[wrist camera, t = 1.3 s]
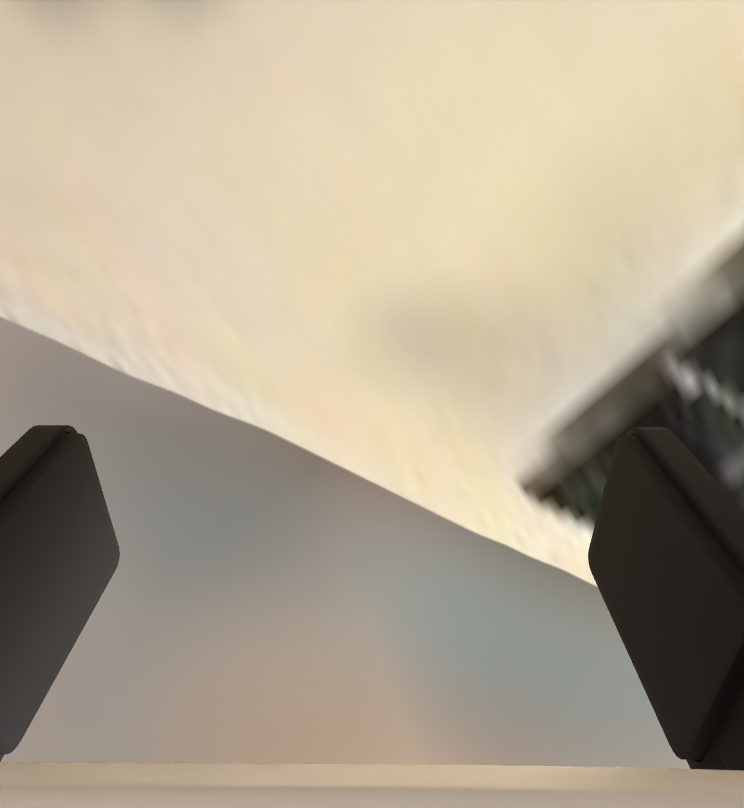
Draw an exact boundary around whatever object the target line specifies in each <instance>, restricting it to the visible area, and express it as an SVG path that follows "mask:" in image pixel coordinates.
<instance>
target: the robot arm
mask: <svg viewBox="0 0 744 808" xmlns="http://www.w3.org/2000/svg"><path fill="white" fill-rule="evenodd" d="M119 556H120V553H119V546H118V542H117V539H116V536H115V532H114V529H113V526H112V522H111V519H110V516H109V512H108V509H107V505H106V502H105V499H104V495H103V492H102V488H101V485H100V482H99V478H98V475H97V472H96V468H95V465H94V462H93V458H92V455H91V452H90V448H89V445H88V442H87V439H86V437H85V436H84V435H82V434H78V433H77V431H76V430H75V429H74V428H73V427H71V426H68V425H66V426H65V425H55V426H54V425H52V426H51V425H44V426H43V425H38V426H34V427H32V428H31V429H29V430H28V431H27V432H26V433H25V434H24V435H23V436H22V437H21V438H20V439H19V440H18V441H17V442H16V443H15V444H13V445H12V446H11V447H10V448H9V449H8V450H7V451H6V452H5V453H4V454H3V455H2V456H1V457H0V761H1V759H2V758H3V756H4V754H9V753H11V752H12V751H13V750H14V749H15V748H16V747H17V746H18V744H19V742H20V741H21V739H22V738H23V736H24V734H25V732H26V730H27V728H28V727H29V725H30V723H31V721H32V720H33V717H34V716H35V714H36V712H37V711H38V709H39V707H40V705H41V703H42V701H43V700H44V698H45V696H46V694H47V693H48V691H49V689H50V687H51V685H52V683H53V682H54V680H55V678H56V676H57V675H58V673H59V671H60V669H61V667H62V665H63V664H64V662H65V660H66V658H67V656H68V655H69V653H70V651H71V649H72V648H73V646H74V644H75V642H76V640H77V639H78V636H79V635H80V633H81V631H82V630H83V628H84V626H85V624H86V622H87V621H88V619H89V617H90V615H91V613H92V611H93V610H94V608H95V606H96V604H97V602H98V601H99V599H100V597H101V595H102V593H103V591H104V590H105V588H106V586H107V584H108V583H109V581H110V579H111V577H112V575H113V574H114V572H115V570H116V568H117V565H118V562H119ZM588 560H589V566H590V570H591V572H592V575H593V577H594V579H595V581H596V583H597V586H598V588H599V590H600V592H601V594H602V597H603V599H604V601H605V603H606V605H607V608H608V610H609V612H610V614H611V616H612V619H613V621H614V623H615V625H616V628H617V630H618V632H619V634H620V636H621V638H622V641H623V643H624V645H625V647H626V649H627V652H628V654H629V656H630V658H631V660H632V663H633V665H634V667H635V669H636V672H637V674H638V676H639V678H640V680H641V683H642V685H643V687H644V689H645V691H646V694H647V696H648V698H649V700H650V702H651V705H652V707H653V709H654V711H655V713H656V716H657V718H658V720H659V722H660V724H661V727H662V729H663V731H664V733H665V736H666V738H667V740H668V742H669V744H670V746H671V748H672V750H673V752H674V753H675V754H676V756H677V757H679V758H680V759H686V760H687V762H688V764H689V766H690V768H691V769H675V768H674V769H673V768H642V767H582V766H580V767H578V766H507V765H505V766H504V765H503V766H502V765H432V764H430V765H428V764H422V765H421V764H313V763H303V764H302V763H130V762H129V763H125V762H124V763H123V762H121V763H120V762H117V763H115V762H107V763H106V762H105V763H103V762H101V763H100V762H95V763H94V762H80V763H79V762H0V808H744V512H743V511H742V510H741V508H740V507H739V506H738V505H737V504H736V503H735V502H734V501H733V499H732V498H731V497H730V496H729V495H728V494H727V493H726V491H725V490H724V489H723V488H722V487H721V486H720V485H719V484H718V482H717V481H716V480H715V479H714V478H713V477H712V476H711V475H710V473H709V472H708V471H707V470H706V469H705V468H704V467H703V466H702V464H701V463H700V462H699V461H698V460H697V459H696V458H695V457H694V455H693V454H692V453H691V452H690V451H689V450H688V449H687V448H686V446H685V445H684V444H683V443H682V442H681V441H680V440H679V439H678V437H677V436H676V435H675V434H674V433H673V432H672V431H671V430H670V429H668V428H650V427H633V428H631V429H630V430H629V431H628V433H627V435H626V436H620V437H619V438H618V439H617V442H616V445H615V448H614V452H613V456H612V460H611V464H610V468H609V472H608V476H607V480H606V484H605V488H604V492H603V496H602V500H601V504H600V508H599V511H598V515H597V519H596V523H595V527H594V531H593V535H592V539H591V543H590V547H589V552H588Z"/></svg>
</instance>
